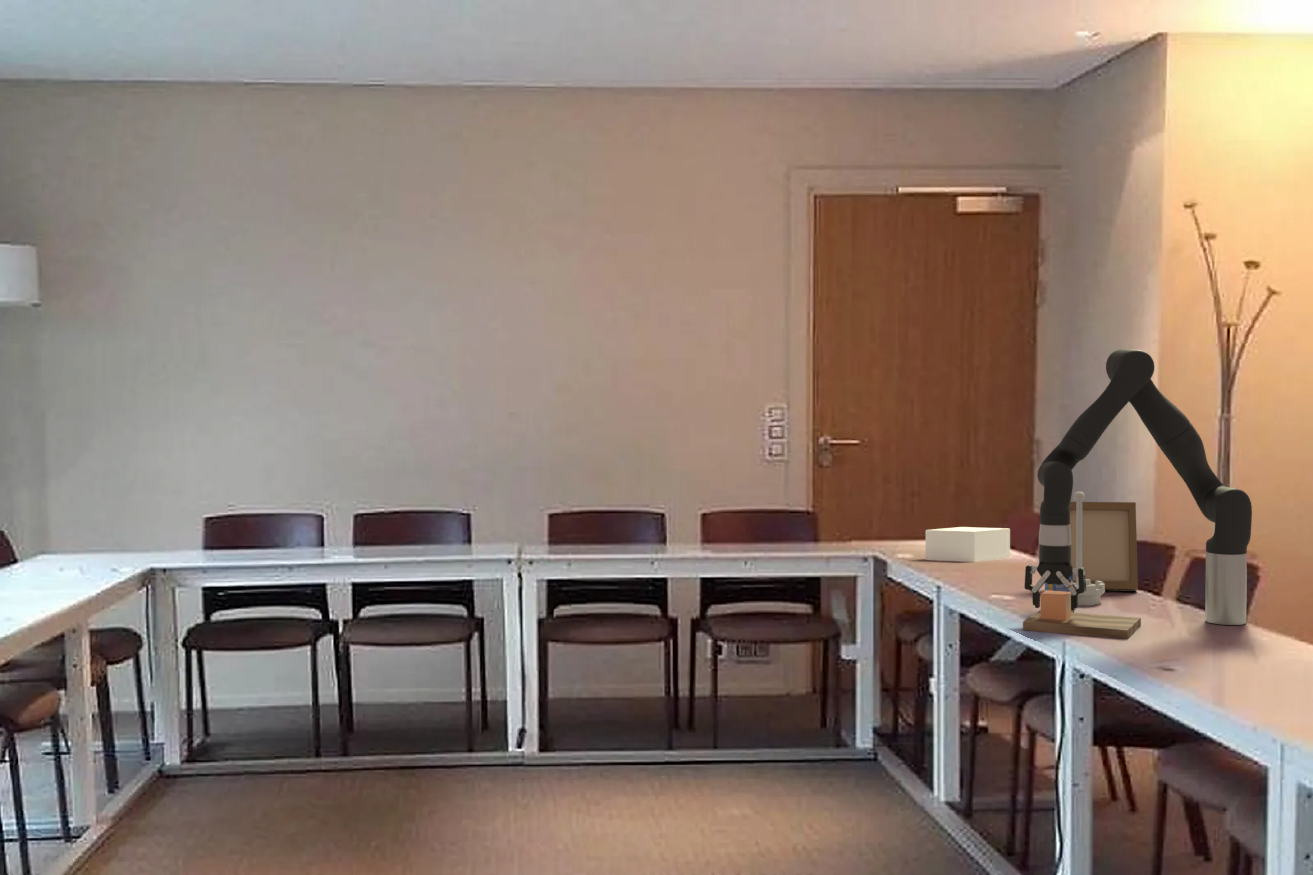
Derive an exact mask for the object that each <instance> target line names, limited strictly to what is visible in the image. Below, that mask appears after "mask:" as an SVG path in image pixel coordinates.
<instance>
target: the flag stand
mask: <svg viewBox="0 0 1313 875" xmlns="http://www.w3.org/2000/svg"><path fill="white" fill-rule="evenodd" d="M1085 498H1086V495H1085V492H1083V491H1076V492H1074V493H1073V499H1074V502H1076V568H1081V567H1082V502H1084V501H1085ZM1074 585H1075V586H1076V588H1077V589H1078V588H1079V581H1078V577H1076V583H1074ZM1104 593H1106V590H1105V584H1104V583H1103V582H1102V581H1095V584H1091V580H1089V579H1086V591H1085V592H1084V593H1080V594H1079V595H1078V606H1096V605H1095V604H1097V605H1100V604H1101V603H1102V600H1101V596H1102V595H1103V594H1104Z"/></svg>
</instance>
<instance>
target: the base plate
mask: <svg viewBox="0 0 1313 875" xmlns="http://www.w3.org/2000/svg"><path fill="white" fill-rule="evenodd" d="M1141 626H1142V617H1136V616H1125V615H1124V616H1123V615H1122V616H1121V615H1109V614H1097V613H1085V612H1074V613H1073V612H1071V617H1070V618H1068V619H1067V620H1055V619H1043V618H1041V609H1040V610H1038V611H1037V612H1035V613H1034V614H1032V615H1030V616H1029V617H1028V618H1026V619H1025V620H1023V621H1022V631H1029V632H1031V631H1032V632H1040V633H1041V632H1044V633H1054V634H1055V633H1056V634H1066V635H1067V634H1068V635H1078V636H1089V637H1090V636H1092V637H1103V638H1113V639H1123V640H1124V639H1125V640H1127V639H1129V638H1130V637H1131V636H1132V635H1133V634H1134V633H1135V632H1136V631H1137V630H1138V629H1140V627H1141Z"/></svg>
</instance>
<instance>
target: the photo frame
mask: <svg viewBox="0 0 1313 875" xmlns="http://www.w3.org/2000/svg"><path fill="white" fill-rule="evenodd" d="M1136 503H1137V502H1134V501H1132V502H1131V501H1125V502H1124V501H1122V502H1121V501H1117V502H1116V501H1082V567H1084V568H1085V577H1086V579H1089V580H1091V584H1095V581H1102V582H1103V583H1104V584H1105V591H1133V592H1135V591H1137V590H1139V581H1138V580H1139V579H1138V575H1139V574H1138V542H1137V539H1138V538H1137V536H1138V535H1137V509H1136V508H1137V506H1136ZM1070 529H1071V565H1072V567H1073V568H1076V501H1070ZM1073 583H1076V575H1075V573H1073Z"/></svg>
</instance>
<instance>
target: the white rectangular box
mask: <svg viewBox="0 0 1313 875" xmlns="http://www.w3.org/2000/svg"><path fill="white" fill-rule="evenodd" d="M1007 559H1011V528H1005V527H1003V528H1002V527H977V526H976V527H974V526H973V527H972V526H971V527H970V526H957V527H945V528H943V527H942V528H936V529H935V528H933V529H925V561H941V562H943V561H945V562H966V563H976V562H977V563H978V562H979V563H980V562H987V561H997V560H998V561H999V560H1007Z"/></svg>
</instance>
